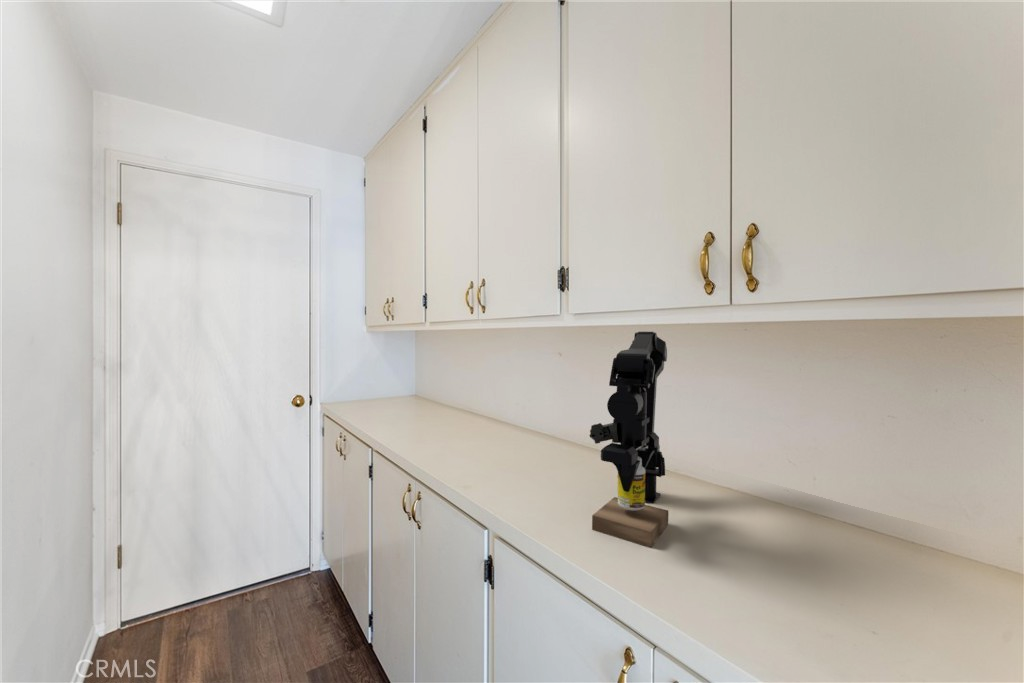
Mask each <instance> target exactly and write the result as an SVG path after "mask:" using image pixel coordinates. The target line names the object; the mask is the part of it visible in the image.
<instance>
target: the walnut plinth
mask: <svg viewBox="0 0 1024 683" xmlns="http://www.w3.org/2000/svg"><path fill="white" fill-rule="evenodd" d="M617 499H618V497H616V496H614V497H613V498H611V499H610V500H609V501H608V502H607V503H605V504H604V505H603V506H602V507H601V508H599V509H597V511H595V512H594V513H593V514H592V516H591V517H592V518H591V519H592V521H591V530H592V531H594V532H595V531H596V532H599V533H601V534H605V535H608V536H612V537H614V538H618V539H620V540H625V541H628V542H631V543H634V544H637V545H640V546H644V547H647V548H649V549H651V548H652V547H653V545H654V544H655V543H656V541H657V540H658V539H659V538H660V536H661V535H662V534H663V532H664V531H665V530H666V528H667V527H668V525H669V510H667V509H663V508H660V507H656V506H652V505H649V504H648V505H647V504H645V506H644V508H643V509H641V510H627V509H624V508H622V507H620V506H619V505H618V500H617Z"/></svg>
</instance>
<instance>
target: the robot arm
mask: <svg viewBox="0 0 1024 683" xmlns="http://www.w3.org/2000/svg"><path fill="white" fill-rule="evenodd" d="M631 342H632V343H631V344H630V346H629V348H627V349H624V350H620V351H619V352H618V353H617V354H616V357H613V360H612V365H611V371H610V376H609V382H608V383H609V387H616V391H615V392H614V393H612V394H611V395H610V397H609V398H608V400H607V404H606V405H607V406H606V407H607V412H608V413H609V415H610V416H611V417H612V418H613V421H612V422H610V423H606V424H602V423H601V422H599V423H596V424H592V425H591V427H590V430H589V432H590V434H589V438H591V439H592V440H593V441H594V444H601V443H602V442H607V441H611V443H608V444H607V445H604V447H603V448H602V449H601V450H600V461H602V462H606V463H607V462H608V463H612V464H613V465H614V466H615V468H616V470H617V475H618V474H619V477H620V481H621V484H622V487H623V490H624V491H626V492H629V490H630V488H631V485H632V483H633V480H634V477H635V474H636V472H637V469H638V466H639V464H640V461H639V460H637V457H638V456H639V457H641V459H642V467H644V468H645V503H650V504H654V503H656V501H657V500H658V499H659V498H660V497H661V495H662V494H661V493H660V492H657V477H658V478H661V477H663V476H665V475H666V461H665V460H666V459H665V457H664V455H663V453H662V452H663V451H661V450H660V449H661V445H660V437H659V436H658V435H657V433H656V432H655V419H656V403H657V402H656V399H657V398H656V397H657V384H658V383H657V382H658V380H657V379H658V378H659V376H660V375H661V374H662V372H663V371H664V370H665V369H664V368H665V362H667V359H668V349H667V348H668V347H667V343H666V341H665V340H664V339H661V337H658V335H657V332H654V331H637V332H634V339H633V340H632V341H631Z"/></svg>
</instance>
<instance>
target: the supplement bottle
mask: <svg viewBox="0 0 1024 683" xmlns="http://www.w3.org/2000/svg"><path fill="white" fill-rule="evenodd" d="M637 460H639V461H640V464H639V466H638V469H637V472H636V474H635V477H634V480H633V483H632V485H631V488H630V490H629V492H626V491H624V490H623V487H622V484H621V481H620V477H619V474H618V473H617V498H618V499H617V500H618V505H619V506H620V507H622V508H624V509H627V510H641V509H643V508H644V506H645V505H646V502H645V468H644V467H642V459H641V457H639V456H638V457H637Z"/></svg>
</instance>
